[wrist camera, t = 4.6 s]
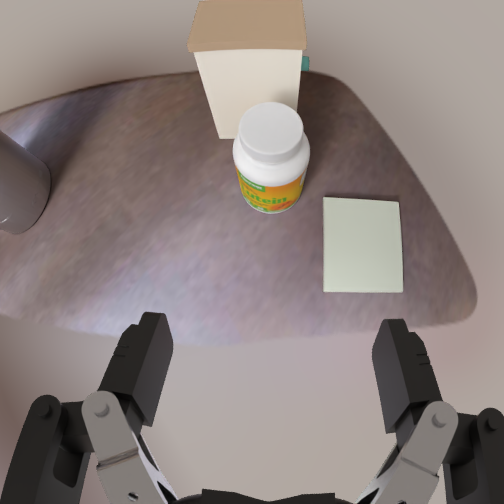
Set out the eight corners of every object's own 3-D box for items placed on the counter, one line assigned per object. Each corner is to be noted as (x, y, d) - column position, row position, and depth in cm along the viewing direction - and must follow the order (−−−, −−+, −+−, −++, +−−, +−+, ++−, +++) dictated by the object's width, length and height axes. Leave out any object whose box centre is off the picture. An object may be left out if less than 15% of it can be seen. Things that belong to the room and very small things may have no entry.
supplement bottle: (234, 208, 28) (216, 156, 18) (248, 154, 29) (238, 88, 19) (296, 220, 27) (308, 173, 18) (306, 165, 28) (320, 101, 18)
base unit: (216, 140, 29) (185, 44, 16) (221, 97, 30) (197, 1, 17) (302, 141, 28) (316, 42, 16) (300, 97, 29) (310, -1, 17)
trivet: (322, 292, 26) (323, 291, 25) (322, 199, 27) (323, 197, 27) (400, 292, 25) (403, 292, 25) (396, 204, 27) (398, 202, 26)
